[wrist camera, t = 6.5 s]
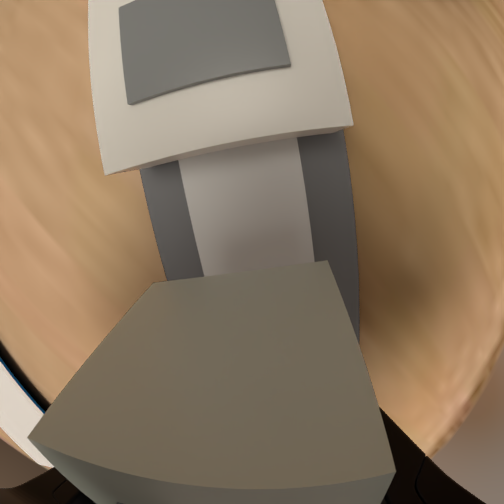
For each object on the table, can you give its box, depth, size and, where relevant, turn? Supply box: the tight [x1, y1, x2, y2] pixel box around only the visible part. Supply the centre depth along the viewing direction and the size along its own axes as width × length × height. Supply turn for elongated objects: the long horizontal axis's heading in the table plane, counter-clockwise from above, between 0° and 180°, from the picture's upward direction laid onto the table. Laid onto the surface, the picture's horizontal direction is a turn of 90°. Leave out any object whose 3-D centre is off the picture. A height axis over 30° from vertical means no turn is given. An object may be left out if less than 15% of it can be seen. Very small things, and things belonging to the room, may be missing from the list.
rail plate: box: [140, 129, 360, 343], centre depth 14 cm, size 9×30×1 cm, turn 10°
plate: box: [0, 357, 54, 467], centre depth 23 cm, size 22×22×2 cm
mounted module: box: [88, 0, 354, 175], centre depth 8 cm, size 8×8×4 cm
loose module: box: [27, 260, 396, 504], centre depth 6 cm, size 5×7×6 cm
